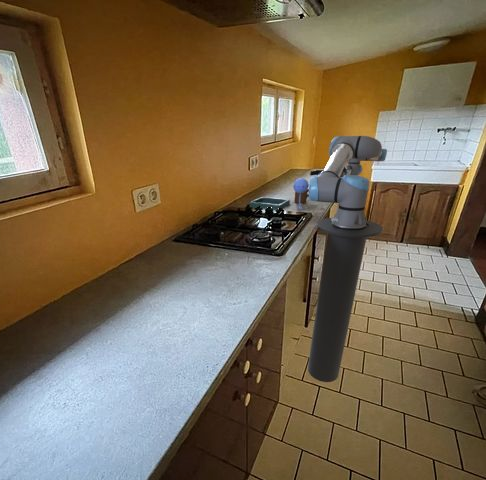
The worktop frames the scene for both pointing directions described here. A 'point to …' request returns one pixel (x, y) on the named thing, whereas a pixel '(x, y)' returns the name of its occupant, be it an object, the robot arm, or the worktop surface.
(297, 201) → the mug
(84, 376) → the worktop surface
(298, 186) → the baby rattle
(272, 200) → the tray
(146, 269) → the worktop surface
